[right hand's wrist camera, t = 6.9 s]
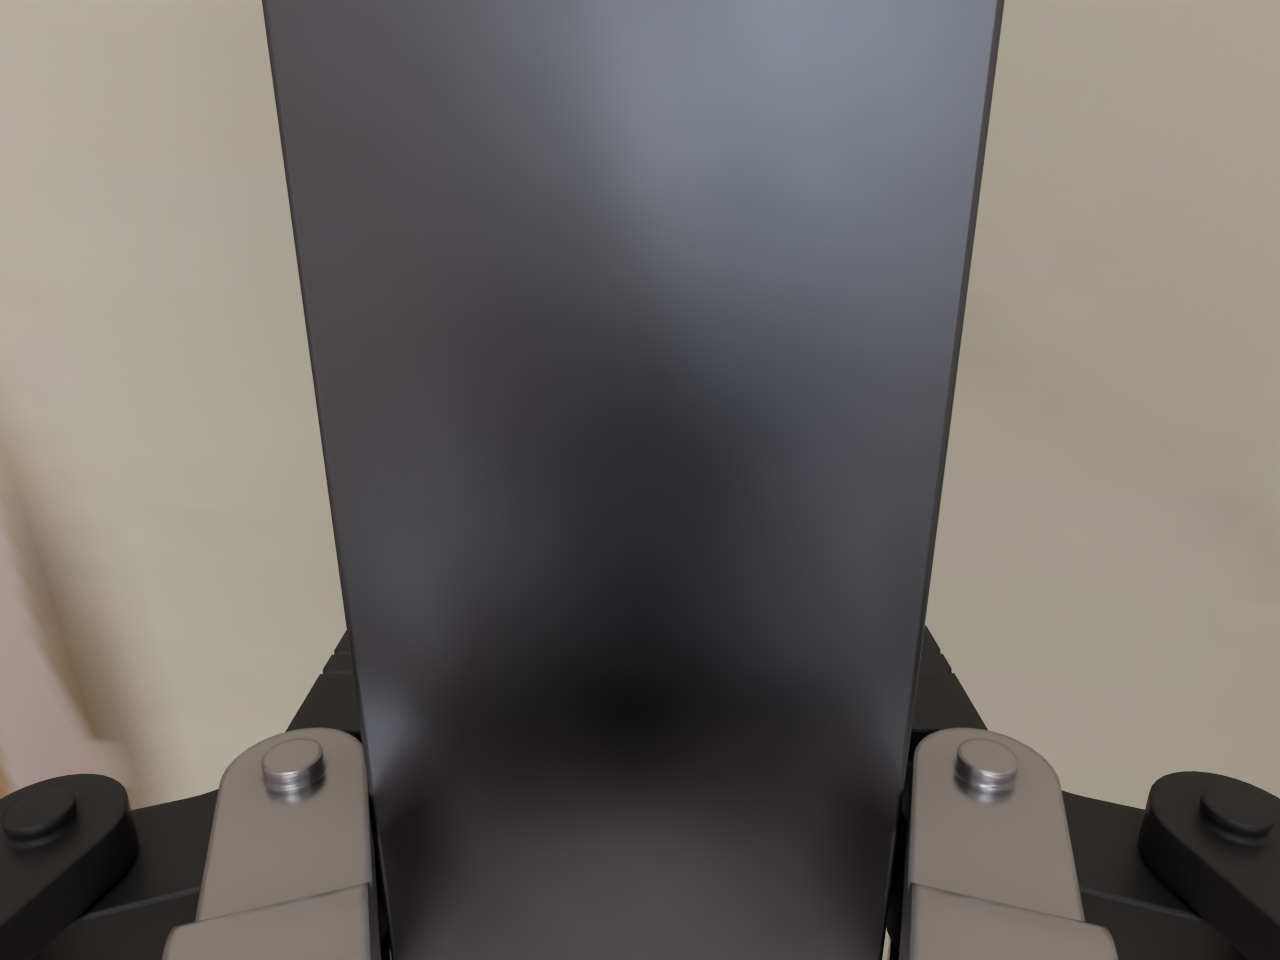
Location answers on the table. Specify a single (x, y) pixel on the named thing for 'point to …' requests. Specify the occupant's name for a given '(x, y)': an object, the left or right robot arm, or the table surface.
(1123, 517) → the table surface
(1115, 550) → the table surface
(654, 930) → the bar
